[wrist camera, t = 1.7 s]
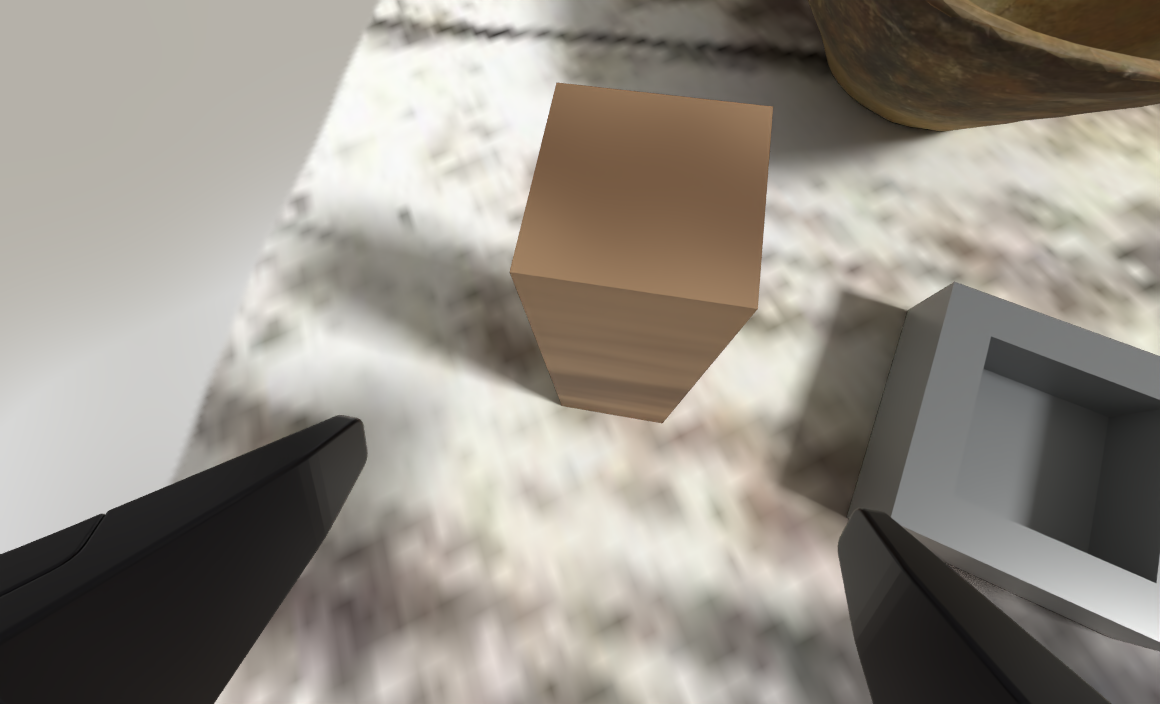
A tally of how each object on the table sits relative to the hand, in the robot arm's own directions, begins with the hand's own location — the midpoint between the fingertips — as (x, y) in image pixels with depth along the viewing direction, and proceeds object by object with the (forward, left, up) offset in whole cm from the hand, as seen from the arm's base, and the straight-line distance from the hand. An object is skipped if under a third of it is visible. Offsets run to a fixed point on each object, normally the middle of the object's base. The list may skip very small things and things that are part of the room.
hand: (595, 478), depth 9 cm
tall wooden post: (+5, +1, -12) cm, 13 cm away
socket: (+8, -15, -12) cm, 21 cm away
